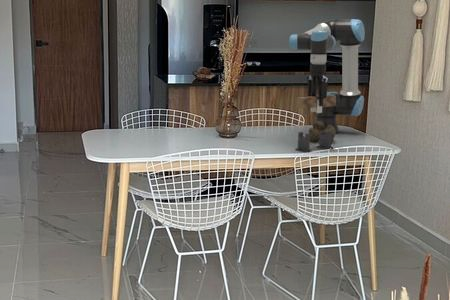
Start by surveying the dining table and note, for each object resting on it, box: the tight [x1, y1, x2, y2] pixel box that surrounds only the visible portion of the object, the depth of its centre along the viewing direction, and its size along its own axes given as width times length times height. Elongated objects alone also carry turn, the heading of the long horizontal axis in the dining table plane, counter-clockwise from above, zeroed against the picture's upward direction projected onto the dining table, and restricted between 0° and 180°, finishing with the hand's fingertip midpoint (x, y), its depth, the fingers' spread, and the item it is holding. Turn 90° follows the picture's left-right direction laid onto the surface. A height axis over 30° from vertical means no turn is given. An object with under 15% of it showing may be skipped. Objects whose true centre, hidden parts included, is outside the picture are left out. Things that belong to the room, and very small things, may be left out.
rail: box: [296, 95, 336, 110], centre depth 287 cm, size 22×4×5 cm, turn 123°
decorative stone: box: [308, 121, 337, 143], centre depth 314 cm, size 16×11×15 cm
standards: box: [294, 130, 334, 153], centre depth 290 cm, size 18×7×9 cm, turn 123°
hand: (316, 112), depth 288 cm, fingers closed on rail, 3 cm apart
